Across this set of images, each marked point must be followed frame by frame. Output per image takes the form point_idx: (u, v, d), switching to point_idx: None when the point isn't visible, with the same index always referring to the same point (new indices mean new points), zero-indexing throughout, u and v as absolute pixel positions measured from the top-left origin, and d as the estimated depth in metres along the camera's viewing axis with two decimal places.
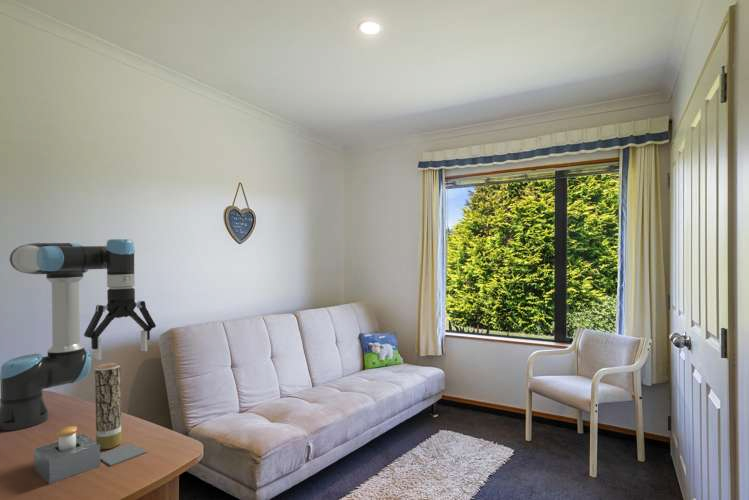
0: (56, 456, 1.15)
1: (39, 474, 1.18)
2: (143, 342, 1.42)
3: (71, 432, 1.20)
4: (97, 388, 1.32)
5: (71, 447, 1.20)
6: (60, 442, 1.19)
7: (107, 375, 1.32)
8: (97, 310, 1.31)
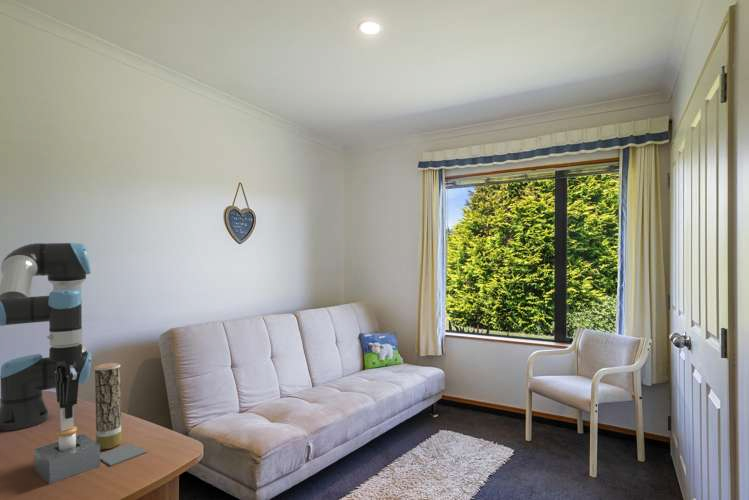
0: (56, 456, 1.15)
1: (39, 474, 1.18)
2: None
3: (71, 432, 1.20)
4: (97, 388, 1.32)
5: (71, 447, 1.20)
6: (60, 442, 1.19)
7: (107, 375, 1.32)
8: None
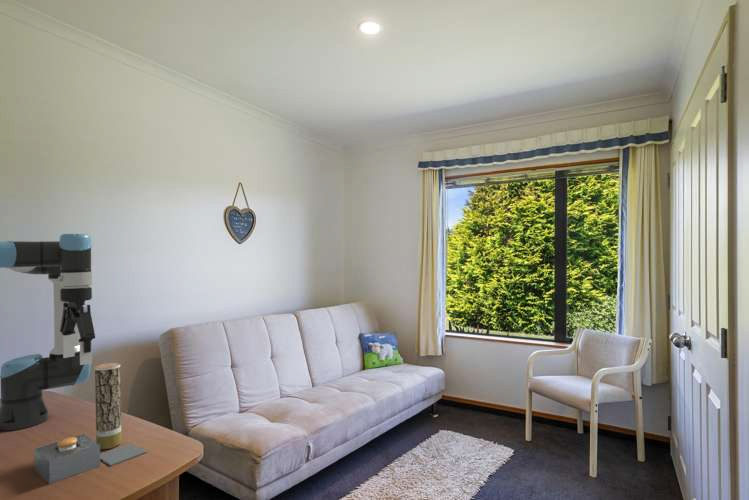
0: (56, 456, 1.15)
1: (39, 474, 1.18)
2: None
3: (71, 443, 1.20)
4: (97, 388, 1.32)
5: None
6: None
7: (107, 375, 1.32)
8: None
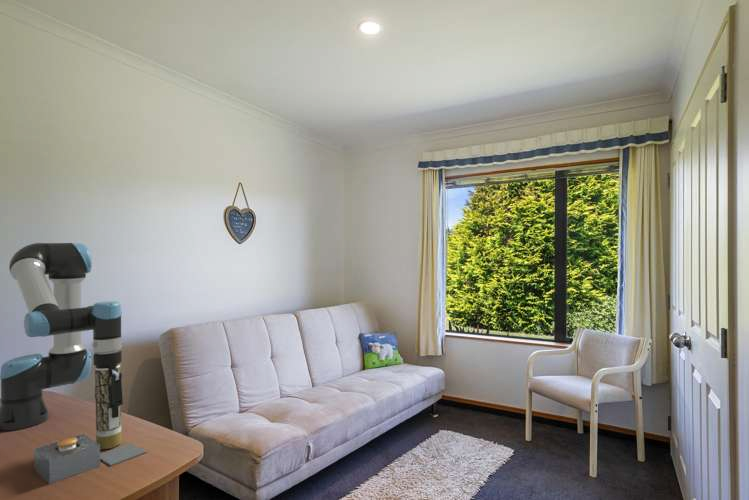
0: (56, 456, 1.15)
1: (39, 474, 1.18)
2: None
3: (71, 443, 1.20)
4: (97, 388, 1.32)
5: None
6: None
7: (107, 375, 1.32)
8: None
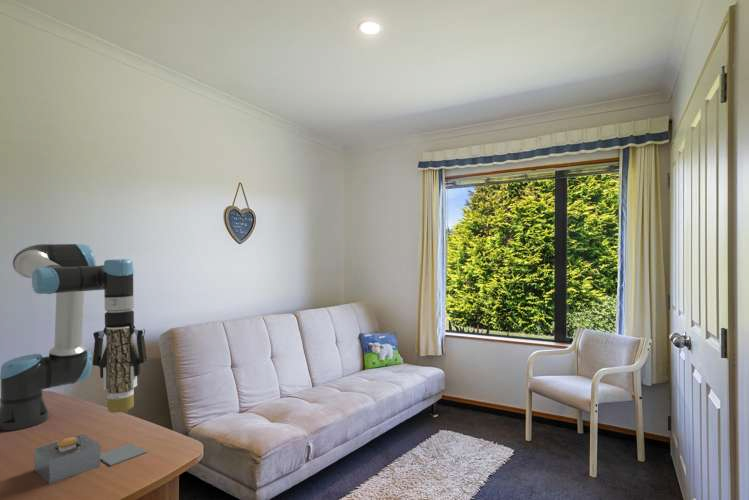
0: (56, 456, 1.15)
1: (39, 474, 1.18)
2: None
3: (71, 443, 1.20)
4: (118, 348, 1.26)
5: None
6: None
7: (128, 333, 1.28)
8: None
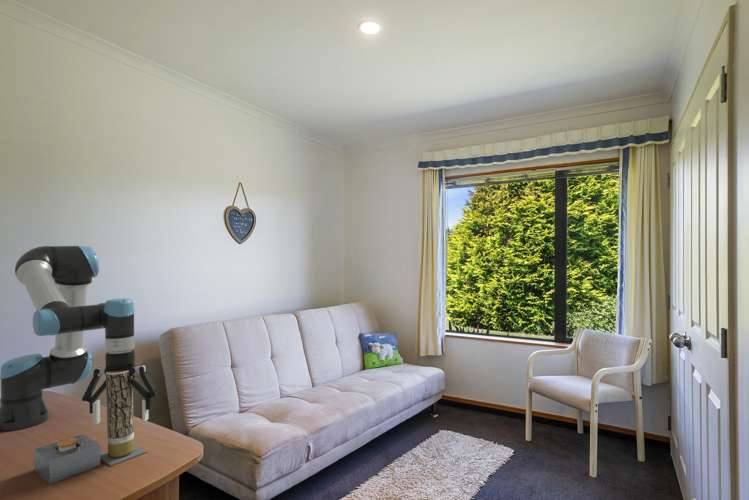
0: (56, 456, 1.15)
1: (39, 474, 1.18)
2: None
3: (71, 443, 1.20)
4: (117, 393, 1.26)
5: None
6: None
7: None
8: None
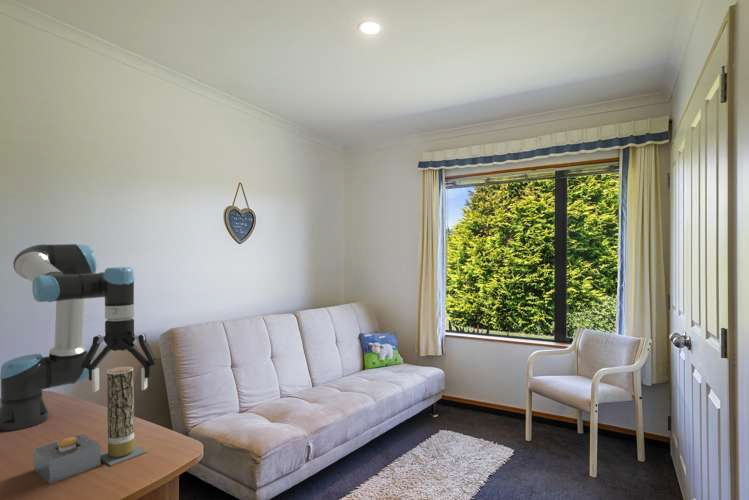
0: (56, 456, 1.15)
1: (39, 474, 1.18)
2: None
3: (71, 443, 1.20)
4: (118, 393, 1.26)
5: None
6: None
7: (129, 377, 1.28)
8: None
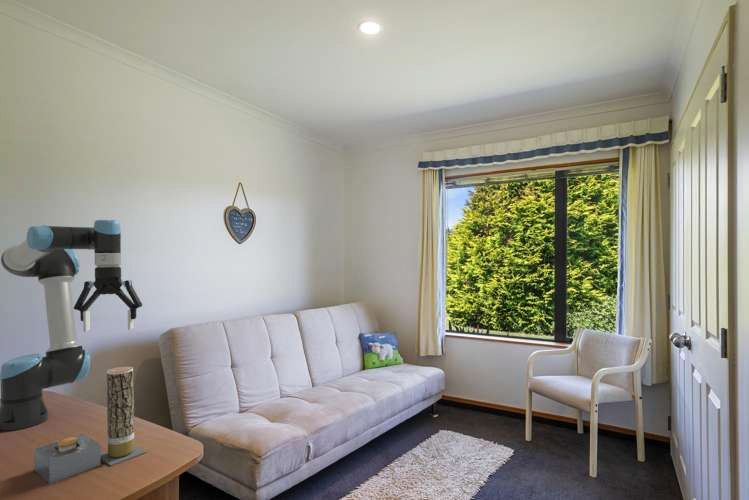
0: (56, 456, 1.15)
1: (39, 474, 1.18)
2: None
3: (71, 443, 1.20)
4: (118, 393, 1.26)
5: None
6: None
7: (129, 377, 1.28)
8: None
